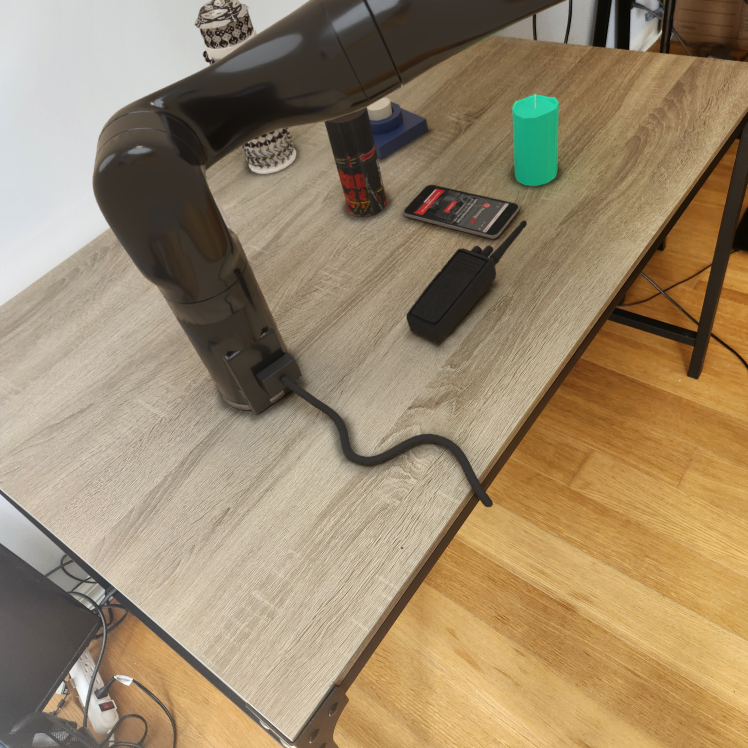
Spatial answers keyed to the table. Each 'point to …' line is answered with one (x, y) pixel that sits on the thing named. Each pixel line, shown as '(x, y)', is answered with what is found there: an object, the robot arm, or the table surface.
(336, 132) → the deodorant
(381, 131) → the dispenser
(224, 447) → the table surface
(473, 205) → the smartphone
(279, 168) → the decorative candle
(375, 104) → the button
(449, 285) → the walkie-talkie
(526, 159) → the candle
